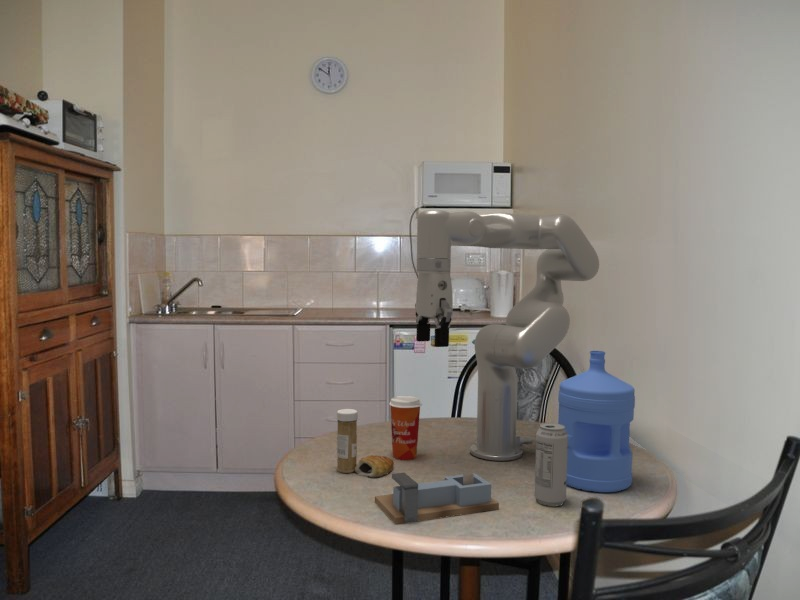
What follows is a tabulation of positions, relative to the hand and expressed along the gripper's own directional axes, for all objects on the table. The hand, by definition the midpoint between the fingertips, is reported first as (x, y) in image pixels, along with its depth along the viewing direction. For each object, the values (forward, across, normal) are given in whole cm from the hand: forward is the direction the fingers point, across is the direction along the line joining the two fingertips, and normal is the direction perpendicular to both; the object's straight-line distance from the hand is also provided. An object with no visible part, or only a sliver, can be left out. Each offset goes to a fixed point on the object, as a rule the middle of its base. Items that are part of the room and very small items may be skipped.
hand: (432, 343), depth 142 cm
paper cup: (+28, +10, +2) cm, 30 cm away
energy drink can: (+28, -26, -14) cm, 41 cm away
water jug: (+28, -19, -30) cm, 46 cm away
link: (+27, -22, +8) cm, 36 cm away
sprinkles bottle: (+28, +5, +18) cm, 34 cm away
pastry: (+29, +2, +12) cm, 31 cm away
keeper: (+28, -22, +16) cm, 39 cm away
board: (+28, -20, +8) cm, 36 cm away
